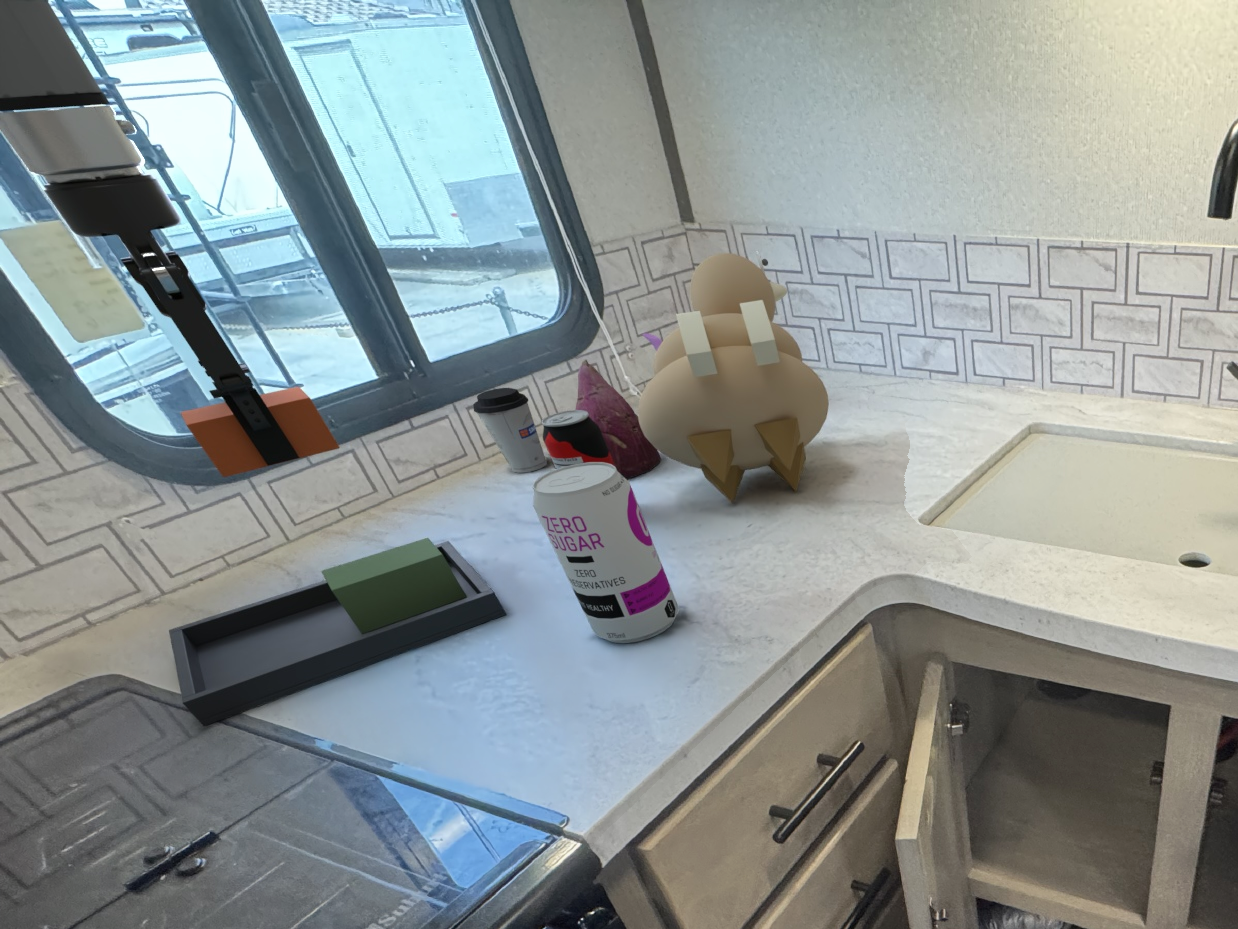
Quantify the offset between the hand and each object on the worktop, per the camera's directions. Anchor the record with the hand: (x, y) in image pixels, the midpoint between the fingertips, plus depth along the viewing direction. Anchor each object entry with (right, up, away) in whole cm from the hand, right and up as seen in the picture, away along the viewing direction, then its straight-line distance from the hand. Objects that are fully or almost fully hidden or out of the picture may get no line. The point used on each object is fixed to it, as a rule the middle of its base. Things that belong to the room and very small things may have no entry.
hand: (277, 452), depth 85 cm
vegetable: (+19, +10, +32) cm, 39 cm away
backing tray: (+7, -18, +1) cm, 20 cm away
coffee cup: (+4, +12, +35) cm, 37 cm away
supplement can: (+38, -18, -1) cm, 42 cm away
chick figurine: (+41, +6, +25) cm, 48 cm away
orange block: (0, 0, 0) cm, 0 cm away
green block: (+11, -15, +3) cm, 19 cm away
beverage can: (+23, 0, +20) cm, 31 cm away
